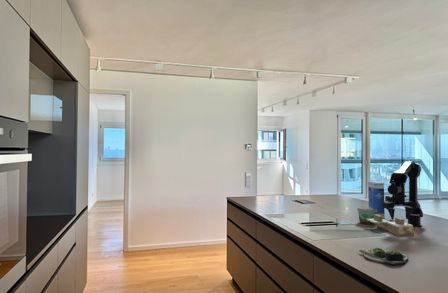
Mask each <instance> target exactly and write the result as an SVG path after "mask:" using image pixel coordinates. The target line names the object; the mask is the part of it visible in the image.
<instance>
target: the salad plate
mask: <svg viewBox="0 0 448 293" xmlns="http://www.w3.org/2000/svg"><path fill="white" fill-rule="evenodd" d="M358 252H359V253H361V254H363V256H364V257H365V258H367V259H368V260H370V261H371V262H372V261H373V262H376V263H381V264H383V265H384V264H385V265H389V266H403V265H404V264H406V263H407V261H409V257H408V255H407V254H405V253H402V252H399V251H397V250H385V249H382V248H379V247H375V248H372V247H371V248H370V249H369V250H367V251H365V250H362V249H359V250H358Z"/></svg>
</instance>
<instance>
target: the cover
mask: <svg viewBox="0 0 448 293" xmlns="http://www.w3.org/2000/svg"><path fill="white" fill-rule="evenodd" d="M384 219H385V218H383V216H380V215H377V214H374V219H366V220H368V221H370V222H373V223H375V224H377V223H387V222H390V221H387V220H384Z"/></svg>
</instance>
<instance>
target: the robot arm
mask: <svg viewBox="0 0 448 293" xmlns="http://www.w3.org/2000/svg"><path fill="white" fill-rule="evenodd" d="M421 172H422V166H421V165H420V164H419V163H416V162H415V161H412V160H411V161H410V160H409V161H407V160H405V161H404V162H403V164H402V166H401V167H400V168H399V169H398V170H394V171H393V172H392V173H391V175H390V179H389V184H390V185H389V186H388V187H387V193H389V194H390V195H391V196H389V195H386V196H385V195H384V202H383V203H382V207H384V209H386V210H387V211H388V213H389V216H390V219H392V220H395V211H396V210H395V207H404V211H405V212H404V213H405V219H406V220H407V223H408V224H411V225H413V227H414V228H415V227H416V228H417V227H423V225H422V223H421V218H424V213H423V210H422V207H421V204H420V202H419V201H418V178H419V177H420V175H421ZM407 180H408V183H409V184H408V201H406V198H407V195H406V191H405V190H406V184H407Z"/></svg>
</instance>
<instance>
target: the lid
mask: <svg viewBox="0 0 448 293" xmlns="http://www.w3.org/2000/svg"><path fill="white" fill-rule="evenodd" d="M394 220H395V222H387V224H390V225H393V226H396V227H413V225H411V224H408V222H405V219H404V218H401V217H394Z"/></svg>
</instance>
